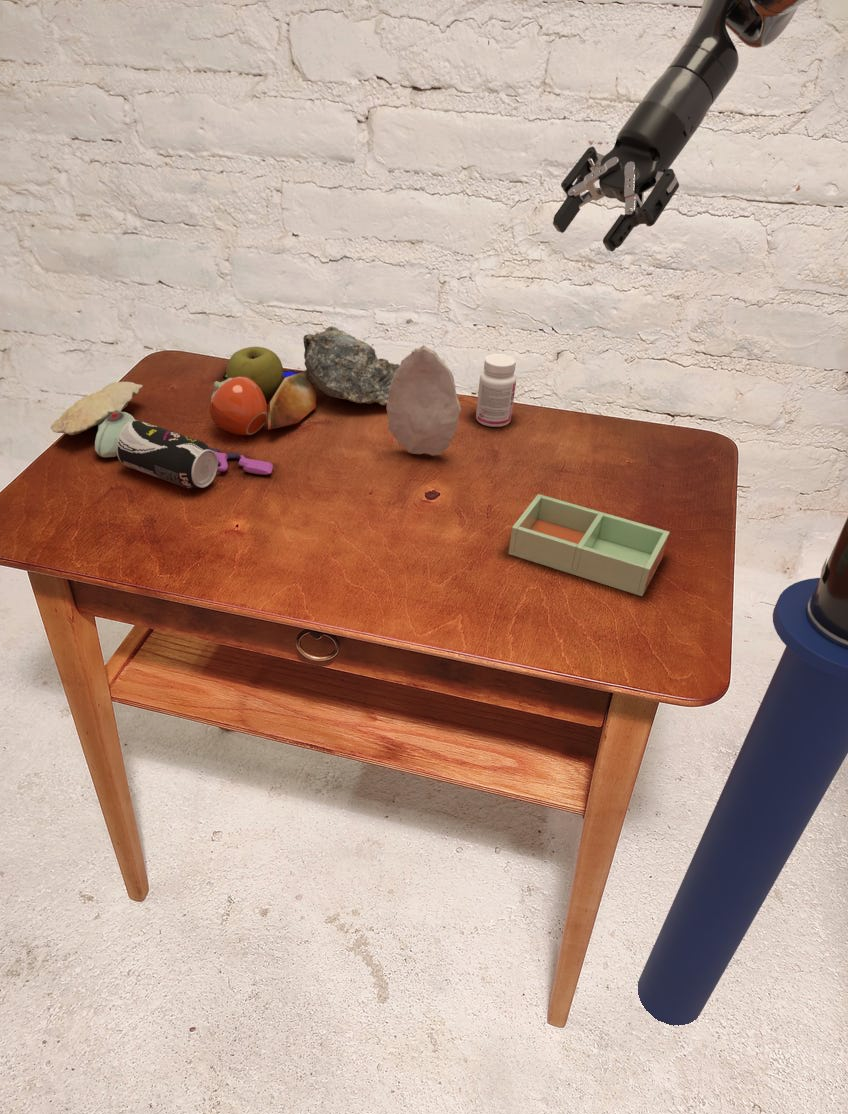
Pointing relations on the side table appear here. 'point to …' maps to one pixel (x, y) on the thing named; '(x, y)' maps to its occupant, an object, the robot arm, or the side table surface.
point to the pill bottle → (496, 390)
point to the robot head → (110, 433)
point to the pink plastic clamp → (243, 463)
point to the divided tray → (589, 544)
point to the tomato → (238, 406)
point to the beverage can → (166, 455)
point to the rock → (347, 367)
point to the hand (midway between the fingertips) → (581, 237)
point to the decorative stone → (291, 401)
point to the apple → (257, 368)
